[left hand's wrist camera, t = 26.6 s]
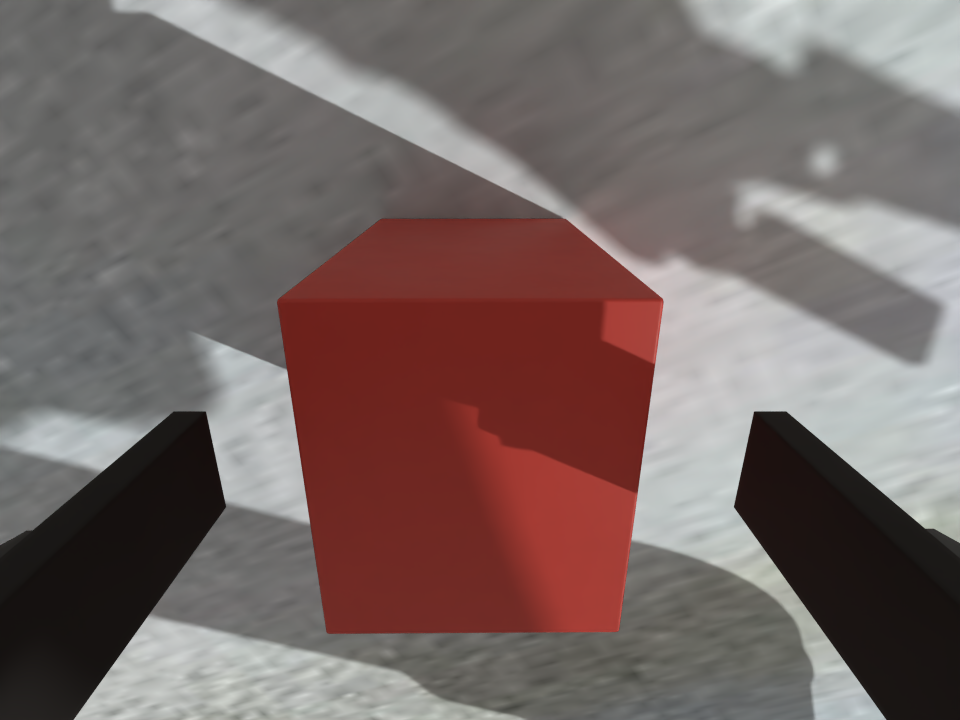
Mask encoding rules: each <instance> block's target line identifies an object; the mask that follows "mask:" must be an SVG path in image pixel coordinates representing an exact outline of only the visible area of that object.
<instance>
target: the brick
mask: <svg viewBox="0 0 960 720" xmlns="http://www.w3.org/2000/svg"><path fill="white" fill-rule="evenodd" d="M277 305H278V312H279V318H280V325H281V332H282V338H283V345H284V352H285V358H286V365H287V372H288V378H289V385H290V392H291V398H292V405H293V412H294V418H295V425H296V432H297V438H298V445H299V452H300V458H301V465H302V472H303V478H304V485H305V492H306V498H307V505H308V512H309V518H310V525H311V532H312V538H313V545H314V552H315V558H316V565H317V572H318V578H319V585H320V592H321V598H322V605H323V612H324V618H325V625H326V632H327V633H329V634H365V633H525V632H617V631H619V626H620V619H621V612H622V604H623V597H624V589H625V582H626V575H627V567H628V560H629V553H630V545H631V538H632V530H633V523H634V516H635V508H636V501H637V494H638V486H639V479H640V472H641V464H642V457H643V449H644V442H645V435H646V427H647V420H648V413H649V405H650V398H651V390H652V383H653V376H654V368H655V361H656V354H657V346H658V339H659V332H660V324H661V317H662V309H663V299H662V298H661V297H660V296H659V295H658V294H656V293H655V292H654V291H653V290H651V289H650V288H649V287H648V286H647V285H645V284H644V283H643V282H642V281H641V280H639V279H638V278H637V277H636V276H634V275H633V274H632V273H631V272H630V271H628V270H627V269H626V268H625V267H624V266H622V265H621V264H620V263H619V262H617V261H616V260H615V259H614V258H613V257H611V256H610V255H609V254H608V253H607V252H605V251H604V250H603V249H602V248H600V247H599V246H598V245H597V244H596V243H594V242H593V241H592V240H591V239H590V238H588V237H587V236H586V235H585V234H583V233H582V232H581V231H580V230H579V229H577V228H576V227H575V226H574V225H573V224H571V223H570V222H569V221H568V220H566V219H380V220H379V221H378V222H376V223H375V224H374V225H373V226H371V227H370V228H369V229H368V230H366V231H365V232H364V233H362V234H361V235H360V236H359V237H357V238H356V239H355V240H353V241H352V242H351V243H350V244H348V245H347V246H346V247H344V248H343V249H342V250H341V251H339V252H338V253H337V254H336V255H334V256H333V257H332V258H330V259H329V260H328V261H327V262H325V263H324V264H323V265H321V266H320V267H319V268H318V269H316V270H315V271H314V272H312V273H311V274H310V275H309V276H307V277H306V278H305V279H304V280H302V281H301V282H300V283H298V284H297V285H296V286H295V287H293V288H292V289H291V290H289V291H288V292H287V293H286V294H284V295H283V296H282V297H280V298H279V299H278V301H277Z"/></svg>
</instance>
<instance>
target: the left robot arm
mask: <svg viewBox="0 0 960 720" xmlns="http://www.w3.org/2000/svg"><path fill="white" fill-rule="evenodd" d="M225 508H226V505H225V500H224V495H223V490H222V486H221V481H220V476H219V471H218V467H217V462H216V457H215V453H214V448H213V443H212V438H211V434H210V429H209V424H208V420H207V415H206V412H173V413H171V414H170V415H169V416H168V417H167V418H166V419H164V420H163V421H162V422H161V423H160V424H158V425H157V426H156V427H155V428H154V429H153V430H151V431H150V432H149V433H148V434H147V435H145V436H144V437H143V438H142V439H141V440H140V441H138V442H137V443H136V444H135V445H134V446H132V447H131V448H130V449H129V450H128V451H126V452H125V453H124V454H123V455H122V456H121V457H119V458H118V459H117V460H116V461H115V462H113V463H112V464H111V465H110V466H109V467H108V468H106V469H105V470H104V471H103V472H102V473H100V474H99V475H98V476H97V477H96V478H94V479H93V480H92V481H91V482H90V483H89V484H87V485H86V486H85V487H84V488H83V489H81V490H80V491H79V492H78V493H77V494H76V495H74V496H73V497H72V498H71V499H70V500H68V501H67V502H66V503H65V504H64V505H63V506H61V507H60V508H59V509H58V510H57V511H55V512H54V513H53V514H52V515H51V516H49V517H48V518H47V519H46V520H45V521H44V522H42V523H41V524H40V525H39V526H38V527H36V528H35V529H34V530H33V531H25V532H24V533H22V534H20V535H18V536H16V537H15V538H13V539H11V540H9V541H7V542H6V543H4V544H2V545H0V720H74V718H75V717H76V716H77V714H78V713H79V711H80V710H81V709H82V707H83V706H84V704H85V703H86V702H87V700H88V699H89V697H90V696H91V695H92V693H93V692H94V690H95V689H96V688H97V686H98V685H99V683H100V682H101V681H102V679H103V678H104V676H105V675H106V674H107V672H108V671H109V670H110V668H111V667H112V665H113V664H114V663H115V661H116V660H117V658H118V657H119V656H120V654H121V653H122V651H123V650H124V649H125V647H126V646H127V644H128V643H129V642H130V640H131V639H132V637H133V636H134V635H135V633H136V632H137V630H138V629H139V628H140V626H141V625H142V624H143V622H144V621H145V619H146V618H147V617H148V615H149V614H150V612H151V611H152V610H153V608H154V607H155V605H156V604H157V603H158V601H159V600H160V598H161V597H162V596H163V594H164V593H165V591H166V590H167V589H168V587H169V586H170V584H171V583H172V582H173V580H174V579H175V578H176V576H177V575H178V573H179V572H180V571H181V569H182V568H183V566H184V565H185V564H186V562H187V561H188V559H189V558H190V557H191V555H192V554H193V552H194V551H195V550H196V548H197V547H198V545H199V544H200V543H201V541H202V540H203V538H204V537H205V536H206V534H207V533H208V532H209V530H210V529H211V527H212V526H213V525H214V523H215V522H216V520H217V519H218V518H219V516H220V515H221V513H222V512H223V511H224V509H225ZM734 508H735V509H736V511H737V512H738V513H739V515H740V516H741V518H742V519H743V520H744V522H745V523H746V525H747V526H748V527H749V529H750V530H751V532H752V533H753V534H754V536H755V537H756V538H757V540H758V541H759V543H760V544H761V545H762V547H763V548H764V550H765V551H766V552H767V554H768V555H769V557H770V558H771V559H772V561H773V562H774V564H775V565H776V566H777V568H778V569H779V571H780V572H781V573H782V575H783V576H784V578H785V579H786V580H787V582H788V583H789V584H790V586H791V587H792V589H793V590H794V591H795V593H796V594H797V596H798V597H799V598H800V600H801V601H802V603H803V604H804V605H805V607H806V608H807V610H808V611H809V612H810V614H811V615H812V617H813V618H814V619H815V621H816V622H817V624H818V625H819V626H820V628H821V629H822V630H823V632H824V633H825V635H826V636H827V637H828V639H829V640H830V642H831V643H832V644H833V646H834V647H835V649H836V650H837V651H838V653H839V654H840V656H841V657H842V658H843V660H844V661H845V663H846V664H847V665H848V667H849V668H850V670H851V671H852V672H853V674H854V675H855V676H856V678H857V679H858V681H859V682H860V683H861V685H862V686H863V688H864V689H865V690H866V692H867V693H868V695H869V696H870V697H871V699H872V700H873V702H874V703H875V704H876V706H877V707H878V709H879V710H880V711H881V713H882V714H883V716H884V717H885V718H886V720H960V543H959V542H957V541H955V540H953V539H951V538H949V537H948V536H946V535H944V534H942V533H940V532H939V531H937V530H935V529H925V528H924V527H922V526H921V525H920V524H919V523H918V522H916V521H915V520H914V519H913V518H912V517H911V516H909V515H908V514H907V513H906V512H905V511H903V510H902V509H901V508H900V507H899V506H897V505H896V504H895V503H894V502H893V501H892V500H890V499H889V498H888V497H887V496H886V495H884V494H883V493H882V492H881V491H880V490H879V489H877V488H876V487H875V486H874V485H873V484H871V483H870V482H869V481H868V480H867V479H866V478H864V477H863V476H862V475H861V474H860V473H858V472H857V471H856V470H855V469H854V468H852V467H851V466H850V465H849V464H848V463H847V462H845V461H844V460H843V459H842V458H841V457H839V456H838V455H837V454H836V453H835V452H834V451H832V450H831V449H830V448H829V447H828V446H826V445H825V444H824V443H823V442H822V441H820V440H819V439H818V438H817V437H816V436H815V435H813V434H812V433H811V432H810V431H809V430H807V429H806V428H805V427H804V426H803V425H802V424H800V423H799V422H798V421H797V420H796V419H794V418H793V417H792V416H791V415H790V414H789V413H787V412H754V415H753V420H752V424H751V429H750V434H749V438H748V443H747V448H746V453H745V457H744V462H743V467H742V471H741V476H740V481H739V486H738V490H737V495H736V500H735V505H734Z"/></svg>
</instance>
